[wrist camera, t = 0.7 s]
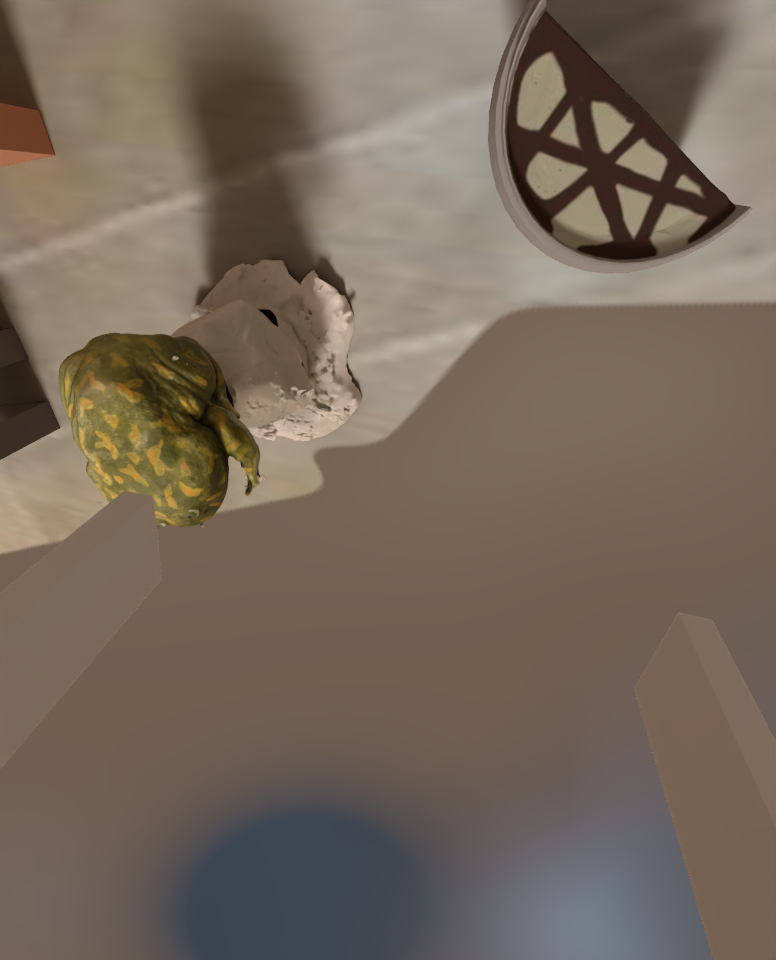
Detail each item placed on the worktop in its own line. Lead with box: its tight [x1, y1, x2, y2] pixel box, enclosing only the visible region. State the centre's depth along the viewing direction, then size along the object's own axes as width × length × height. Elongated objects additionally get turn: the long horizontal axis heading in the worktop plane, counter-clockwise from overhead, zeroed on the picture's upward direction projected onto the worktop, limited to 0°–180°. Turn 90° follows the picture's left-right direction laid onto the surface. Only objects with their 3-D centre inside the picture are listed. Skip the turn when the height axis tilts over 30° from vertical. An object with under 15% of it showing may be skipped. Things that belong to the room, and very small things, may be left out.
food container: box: [488, 0, 752, 273], centre depth 25 cm, size 12×6×10 cm, turn 52°
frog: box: [59, 259, 362, 527], centre depth 29 cm, size 12×13×18 cm
